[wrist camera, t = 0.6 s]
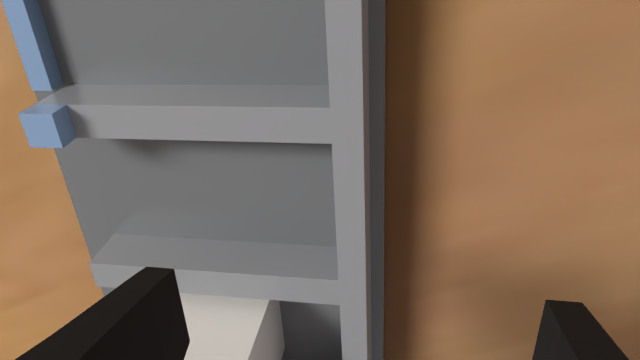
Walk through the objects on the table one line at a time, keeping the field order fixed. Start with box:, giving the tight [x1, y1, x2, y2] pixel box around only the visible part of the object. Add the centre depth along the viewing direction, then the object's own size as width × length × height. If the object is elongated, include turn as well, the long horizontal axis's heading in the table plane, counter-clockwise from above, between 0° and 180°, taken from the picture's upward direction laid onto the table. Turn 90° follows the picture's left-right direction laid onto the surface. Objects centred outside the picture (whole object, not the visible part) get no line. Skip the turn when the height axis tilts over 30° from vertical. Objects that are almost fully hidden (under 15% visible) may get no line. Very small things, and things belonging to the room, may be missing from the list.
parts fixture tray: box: [1, 0, 386, 360], centre depth 19 cm, size 23×13×3 cm, turn 3°
